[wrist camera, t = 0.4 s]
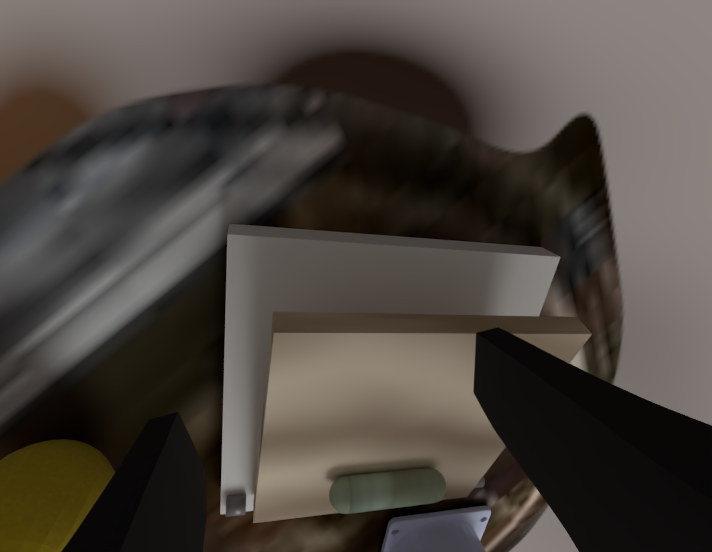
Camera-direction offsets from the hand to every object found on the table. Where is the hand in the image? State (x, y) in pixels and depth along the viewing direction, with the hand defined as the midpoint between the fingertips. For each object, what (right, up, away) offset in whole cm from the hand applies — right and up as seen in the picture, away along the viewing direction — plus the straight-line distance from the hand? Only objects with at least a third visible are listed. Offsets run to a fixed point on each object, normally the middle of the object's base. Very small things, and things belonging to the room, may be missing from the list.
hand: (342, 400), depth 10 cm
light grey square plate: (+1, -2, +13) cm, 13 cm away
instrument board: (+2, -4, +9) cm, 10 cm away
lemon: (-14, -5, +10) cm, 18 cm away
